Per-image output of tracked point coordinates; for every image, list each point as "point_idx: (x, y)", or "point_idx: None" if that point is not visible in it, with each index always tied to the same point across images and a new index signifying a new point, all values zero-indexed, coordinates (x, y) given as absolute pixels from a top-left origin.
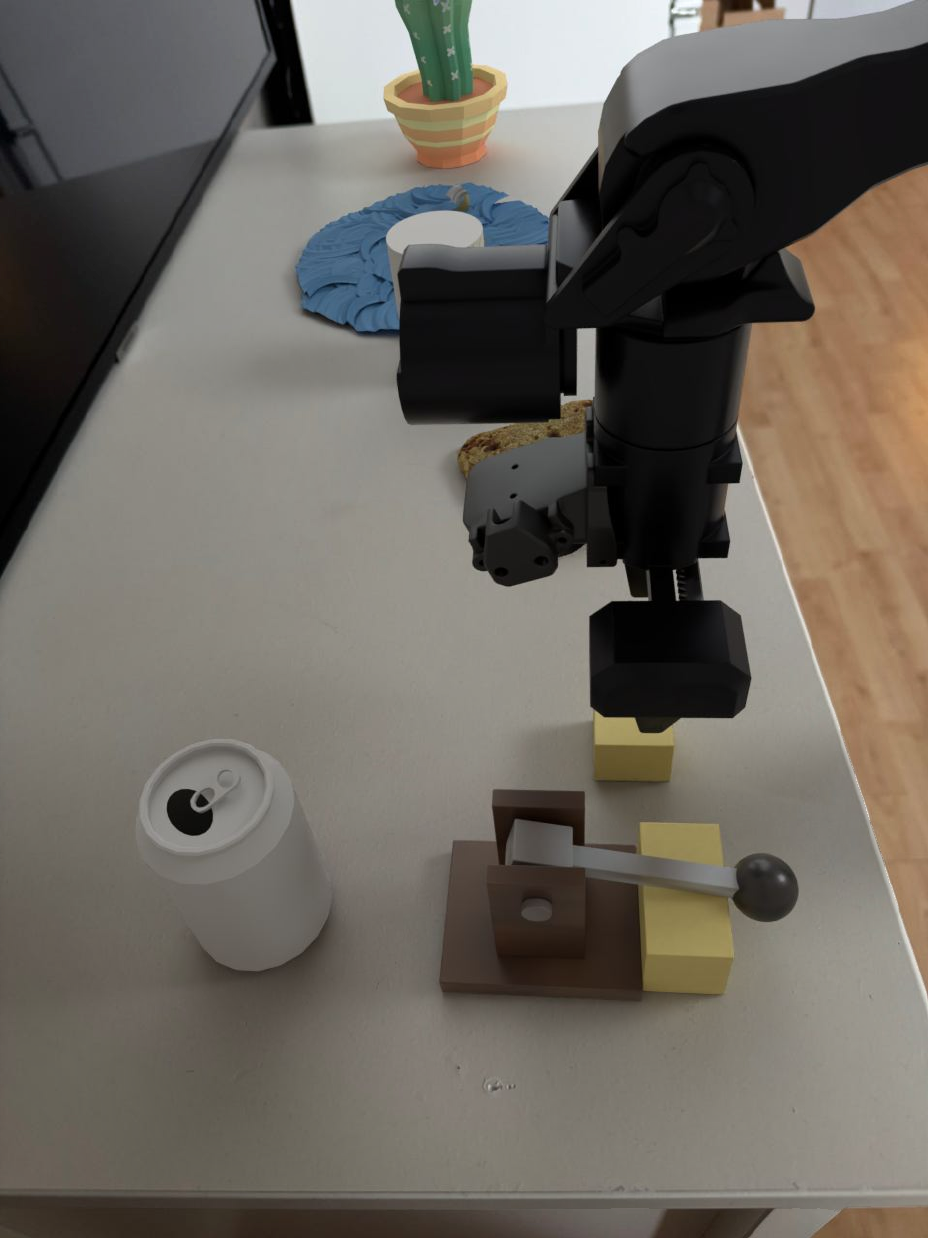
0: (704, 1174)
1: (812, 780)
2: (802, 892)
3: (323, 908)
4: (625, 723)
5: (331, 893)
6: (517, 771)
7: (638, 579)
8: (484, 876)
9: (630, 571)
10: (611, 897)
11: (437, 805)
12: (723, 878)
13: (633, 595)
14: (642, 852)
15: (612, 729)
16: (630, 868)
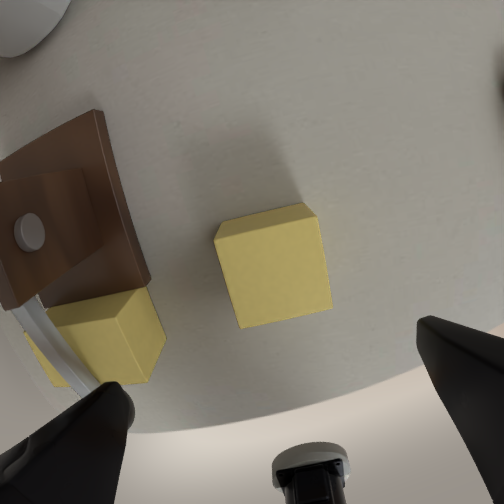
0: (9, 338)
1: (276, 396)
2: (174, 393)
3: (12, 50)
4: (258, 270)
5: (35, 43)
6: (210, 135)
7: (439, 354)
8: (68, 156)
9: (453, 354)
10: (90, 275)
11: (146, 71)
12: (84, 395)
13: (419, 323)
14: (88, 323)
15: (244, 256)
16: (32, 335)
